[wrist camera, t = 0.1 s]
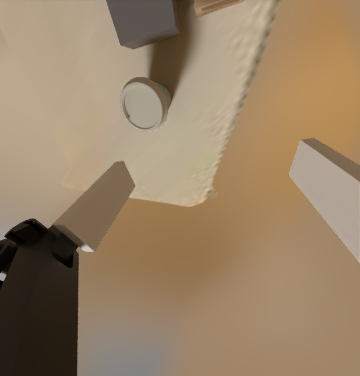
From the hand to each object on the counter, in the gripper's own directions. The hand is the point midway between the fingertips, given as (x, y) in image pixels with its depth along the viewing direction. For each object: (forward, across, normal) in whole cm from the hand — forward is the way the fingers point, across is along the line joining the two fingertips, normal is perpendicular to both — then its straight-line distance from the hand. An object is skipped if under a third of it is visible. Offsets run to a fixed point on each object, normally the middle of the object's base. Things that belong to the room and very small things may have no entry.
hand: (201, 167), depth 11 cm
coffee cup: (+28, -10, +3) cm, 30 cm away
